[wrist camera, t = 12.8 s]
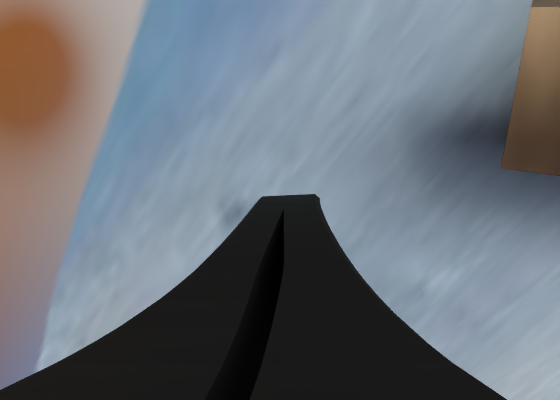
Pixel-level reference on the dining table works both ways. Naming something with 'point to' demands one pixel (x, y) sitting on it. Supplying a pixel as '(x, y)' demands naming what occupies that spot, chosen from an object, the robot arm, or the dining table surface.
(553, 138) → the domino
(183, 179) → the dining table surface
